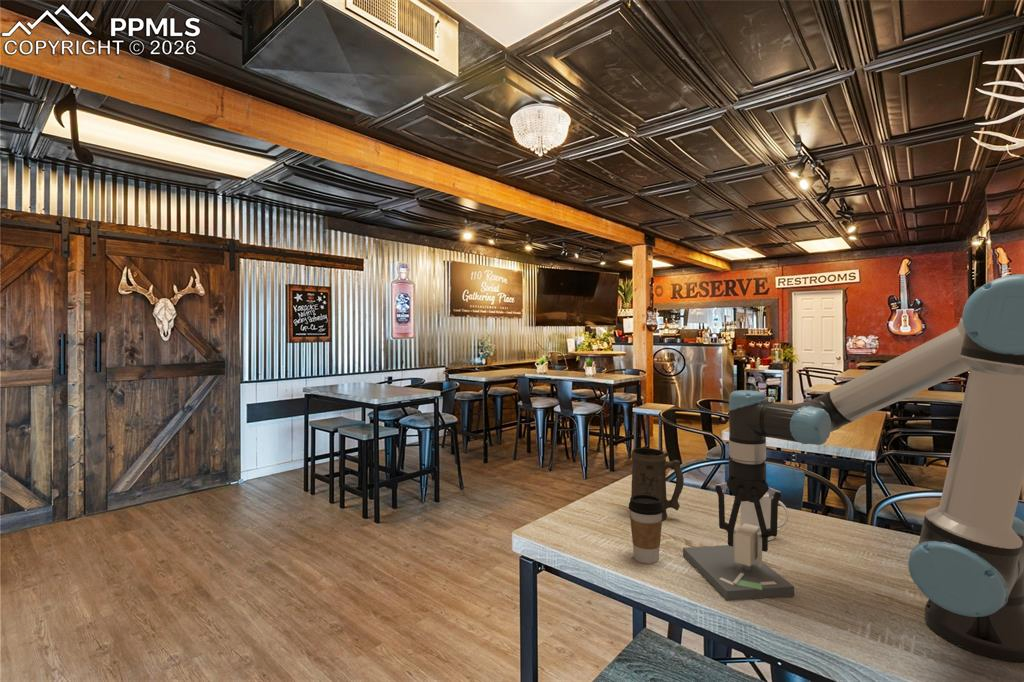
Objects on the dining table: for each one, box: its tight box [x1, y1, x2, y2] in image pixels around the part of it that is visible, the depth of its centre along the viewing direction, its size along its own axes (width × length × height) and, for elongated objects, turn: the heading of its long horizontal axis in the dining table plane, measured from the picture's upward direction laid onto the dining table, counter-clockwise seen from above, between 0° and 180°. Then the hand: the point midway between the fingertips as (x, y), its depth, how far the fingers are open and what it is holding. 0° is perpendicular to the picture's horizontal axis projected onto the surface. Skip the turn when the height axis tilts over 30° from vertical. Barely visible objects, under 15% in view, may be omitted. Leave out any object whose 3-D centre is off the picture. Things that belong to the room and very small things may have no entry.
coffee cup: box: [628, 494, 664, 565], centre depth 119 cm, size 8×8×15 cm
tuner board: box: [682, 544, 795, 601], centre depth 111 cm, size 20×15×2 cm
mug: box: [739, 492, 790, 542], centre depth 131 cm, size 12×8×12 cm
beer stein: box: [629, 447, 685, 522], centre depth 145 cm, size 15×11×20 cm
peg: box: [733, 523, 759, 585], centre depth 107 cm, size 3×12×9 cm, turn 138°
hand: (747, 562), depth 109 cm, fingers closed on peg, 4 cm apart
